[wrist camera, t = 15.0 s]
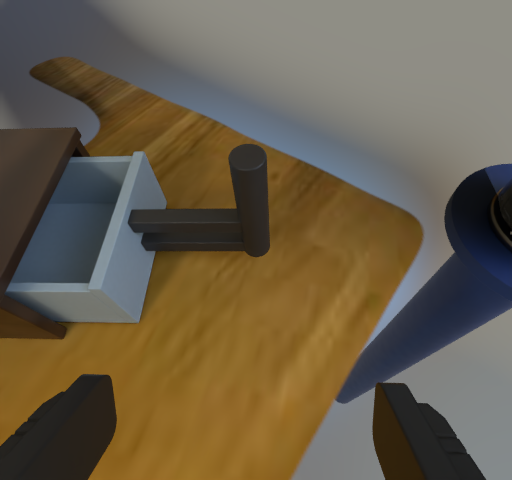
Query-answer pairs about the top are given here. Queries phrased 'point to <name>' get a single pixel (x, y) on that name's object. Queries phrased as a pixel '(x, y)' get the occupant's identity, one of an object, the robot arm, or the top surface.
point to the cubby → (28, 213)
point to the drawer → (128, 235)
